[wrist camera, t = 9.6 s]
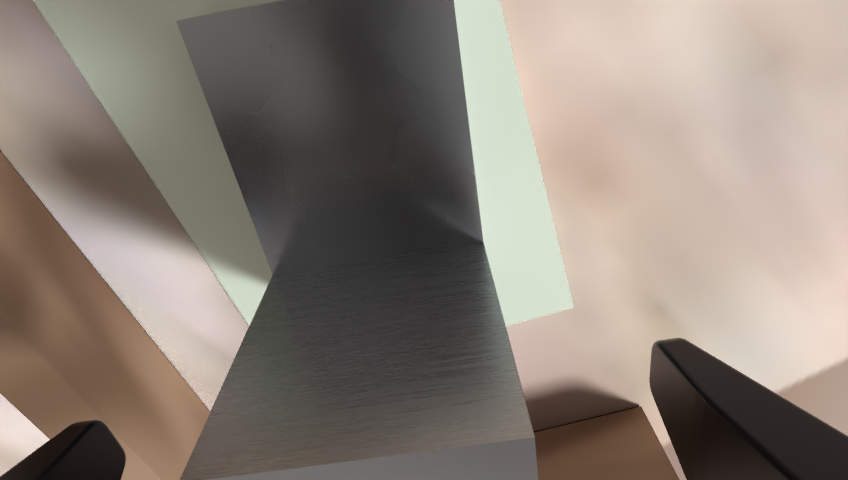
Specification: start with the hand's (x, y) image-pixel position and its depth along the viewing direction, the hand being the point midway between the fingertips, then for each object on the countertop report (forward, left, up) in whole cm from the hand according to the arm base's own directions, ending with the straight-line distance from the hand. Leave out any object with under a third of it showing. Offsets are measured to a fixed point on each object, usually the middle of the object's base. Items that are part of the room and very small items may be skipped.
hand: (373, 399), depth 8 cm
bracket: (-3, 0, -4) cm, 5 cm away
